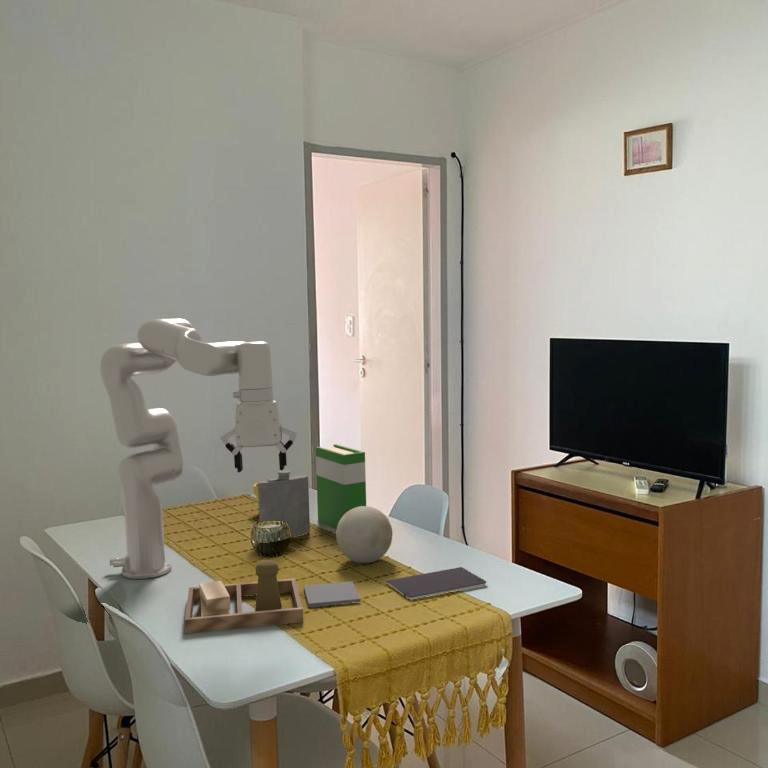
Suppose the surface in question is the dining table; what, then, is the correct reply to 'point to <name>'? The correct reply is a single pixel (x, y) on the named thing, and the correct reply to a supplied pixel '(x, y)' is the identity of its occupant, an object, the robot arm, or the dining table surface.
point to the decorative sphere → (364, 534)
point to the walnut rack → (241, 618)
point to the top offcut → (214, 596)
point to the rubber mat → (331, 594)
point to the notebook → (436, 583)
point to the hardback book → (339, 482)
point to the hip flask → (285, 501)
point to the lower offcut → (204, 612)
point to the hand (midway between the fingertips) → (261, 470)
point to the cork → (267, 586)
